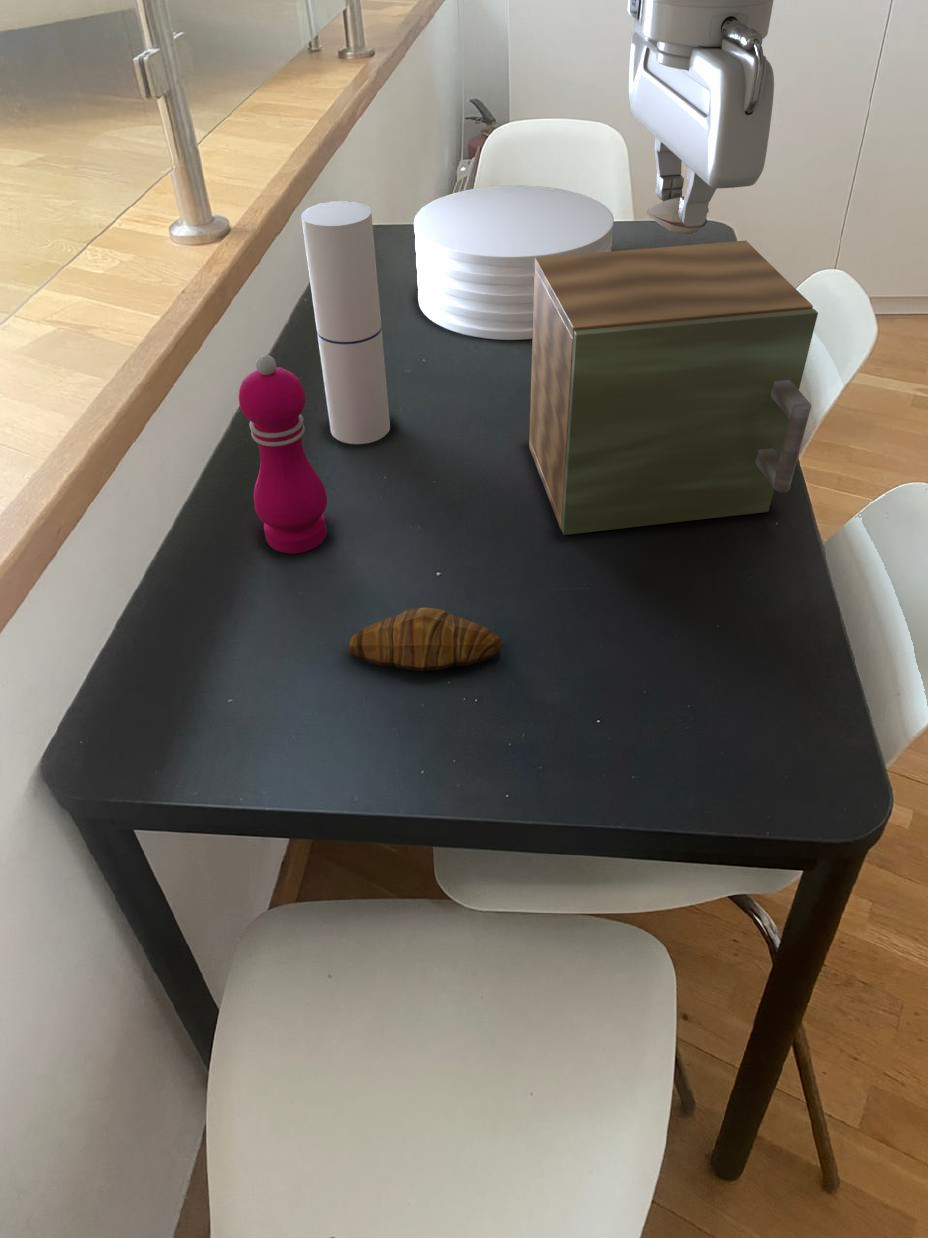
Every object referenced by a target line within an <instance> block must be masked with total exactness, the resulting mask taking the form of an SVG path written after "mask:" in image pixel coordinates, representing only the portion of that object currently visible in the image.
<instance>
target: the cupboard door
mask: <svg viewBox="0 0 928 1238" xmlns="http://www.w3.org/2000/svg"><path fill="white" fill-rule="evenodd" d="M818 315H819V312H818V311H817V310H816V309H815V308H812V309H806V310H795V311H784V312H773V313H762V314H751V315H740V316H729V317H718V318H708V319H697V320H686V321H675V322H664V323H653V324H642V325H631V326H620V327H609V328H598V329H587V330H576V331H574V338H573V354H572V370H571V386H570V402H569V418H568V434H567V450H566V466H565V482H564V498H563V514H562V530H561V533H562V535H563V536H568V535H577V534H586V533H593V532H603V531H611V530H619V529H629V528H638V527H639V528H640V527H647V526H656V525H664V524H673V523H674V524H675V523H683V522H691V521H700V520H701V521H702V520H707V519H716V518H717V519H719V518H726V517H733V516H735V517H736V516H743V515H753V514H760V513H769V511H770V507H771V504H772V499H773V496H774V491H776V492H778V493H787V492H788V491H790V489H791V485H792V483H793V482H792V481H793V477H794V474H795V469H796V466H797V462H798V459H799V455H800V451H801V447H802V445H803V444H802V443H803V441H804V435H805V432H806V428H807V424H808V421H809V416H810V413H811V410H812V404H811V403H810V401H809V400H808V399H807V398H806V397H805V396H804V394H803V393H802V392H801V391H800V387H801V383H802V379H803V375H804V371H805V367H806V363H807V359H808V354H809V351H810V347H811V344H812V339H813V336H814V331H815V327H816V323H817V320H818Z"/></svg>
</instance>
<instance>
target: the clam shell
mask: <svg viewBox="0 0 928 1238" xmlns="http://www.w3.org/2000/svg"><path fill="white" fill-rule="evenodd" d="M682 197H685V195H684V196H683V195H682ZM679 203H680V197H676V198H673V199H669V200H666V201H664V202H663V201H661V202H659V203H657V204H655V205H653V206H650V207H648V208H646V210H645V213H646V214H647V215H648V216H649V217H650V218H651V219H653V221H655V222H656V223H657V224H658V225H660V226H661V227H663V228H665V229H666V230H668V231H670V232H672V233H676V234H677V235H678V234H679V235H692V234H696V233H698V232H699V231H700V230H702V229H703V228H704V227H705V226H706V225H707V223H708V219H707V218H706V221H705V223H704V224H703V225H701V226H691V227H687V226H686V225H684V224H683V223H682V221H681V220H680V219H679V218H678V211H679ZM709 210H710V209H709V208H708V211H707V214H708V213H709Z"/></svg>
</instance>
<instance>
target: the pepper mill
mask: <svg viewBox="0 0 928 1238" xmlns="http://www.w3.org/2000/svg"><path fill="white" fill-rule="evenodd" d="M255 367H256V369H255V370H254V371H252V372H250V373H249V374H248V375H247V376H246V377H244V379H243V380H242V382H241V383H240V385H239V389H238V403H239V407H240V411H241V412H242V414H243V416H244V417H245V418H246V419H247V420H248V421H250V422H249V424H248V425H249V429H250V431H251V432H250V435H251V438H252V440H253V441H254V442H255V443H257V446H258V449H259V457H260V458H259V459H260V463H259V464H260V465H259V471H258V475H257V477H256V481H255V485H254V488H253V489H254V490H253V504H254V505H253V506H254V511H255V514H256V515H257V518H259V519H260V520H261V522H263V530H264V535H265V540H266V543H267V544H268V545H269V546H270V547H271V548H272V549H273V550H274V551H277V552H280V553H283V554H301V553H306V552H309V551H311V550H314V549H315V548H317V547H318V546H320V545H322V543H323V542H324V541H325V539H326V537H327V533H328V530H327V522H326V517H325V515H324V512H325V511H326V508H327V505H328V497H327V492H326V489H325V485H324V484H323V481H322V479H321V477H320V475H319V474H318V472H317V471H316V470H315V469H314V467H313V466H312V464H311V462H310V460H309V459H308V457H307V455H306V453H305V449H304V445H303V442H302V441H303V440H302V437H303V435H304V434H305V432H306V431H305V430H306V429H305V428H306V427H305V425H304V416H303V415H302V412H303V411H304V408H305V405H306V393H305V389H304V386H303V385H302V382H301V381H300V378H298V377H297V376H296V375H295V374H294V373H293V372H291V371H290V370H287V369H285V368H283V367H277V361H276V360H275V358H274V357H272V356H271V355H269V354H263V355H260V356H259V357H258V358H257V359H256V361H255Z"/></svg>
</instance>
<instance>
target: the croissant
mask: <svg viewBox="0 0 928 1238" xmlns="http://www.w3.org/2000/svg"><path fill="white" fill-rule="evenodd" d="M502 647H503V644H502V642H501V638H500V636H499V634H497V633H495V632H494V631H492V630H491V629H489V628H487V627H486V626H484V625H482V624H479V623H477V622H474V621H472V620H469V619H466V618H463V617H459V616H457V615H456V616H455V615H453V614H451V613H449V612H448V611H446V610H444V609H439V608H432V607H425V606H424V607H419V608H411V609H406V610H404V611H403V612H401V613H400V614H398V615H396V616H392V617H388V618H385V619H383V620H380V621H377V622H375V623H372V624H370V625H368V626H365V627H364V628H363V629H361V630H360V631H358V632H356V633H355V634H353V635H352V636H351V638H350V640H349V644H348V650H349V654H350V655H351V658H354V659H356V660H359V661H361V662H364V663H367V664H372V665H375V666H379V667H383V668H399V669H402V670H405V671H416V672H432V671H441V670H446V669H449V668H465V667H469V666H473V665H476V664H481V663H485V662H487V661H490V660H493V659H496V658H498V657H499V656H500V653H501V651H502Z"/></svg>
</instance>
